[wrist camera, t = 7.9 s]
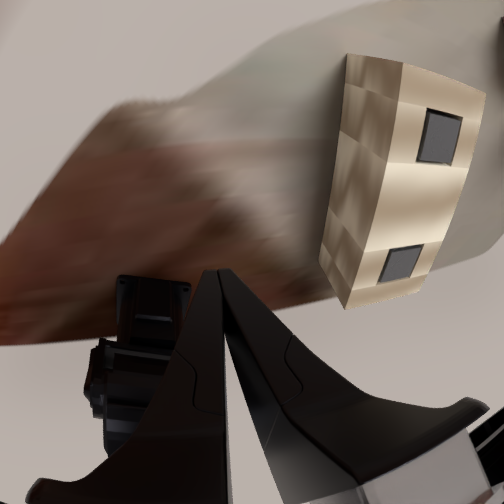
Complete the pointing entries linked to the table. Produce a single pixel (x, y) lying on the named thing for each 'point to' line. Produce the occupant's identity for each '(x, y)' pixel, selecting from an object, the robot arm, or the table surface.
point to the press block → (392, 176)
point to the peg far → (399, 263)
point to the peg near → (438, 137)
